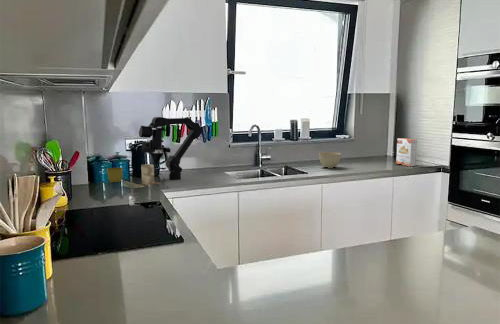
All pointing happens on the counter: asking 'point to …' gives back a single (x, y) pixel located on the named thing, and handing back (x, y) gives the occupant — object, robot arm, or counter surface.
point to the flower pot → (114, 174)
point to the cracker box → (406, 151)
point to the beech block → (147, 174)
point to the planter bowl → (329, 159)
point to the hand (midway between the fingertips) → (155, 164)
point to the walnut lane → (133, 185)
